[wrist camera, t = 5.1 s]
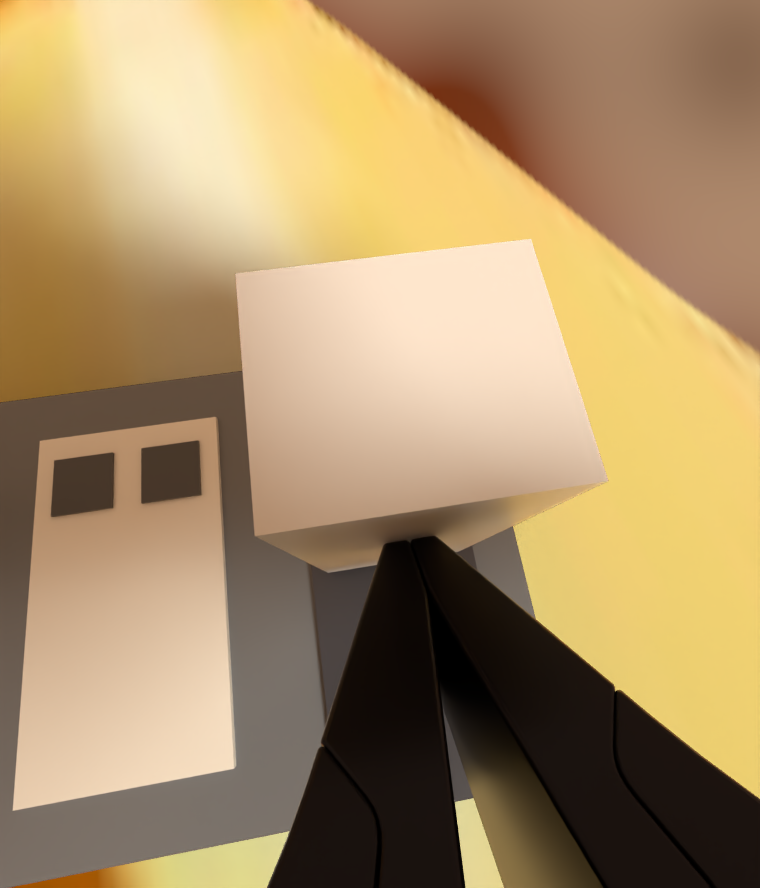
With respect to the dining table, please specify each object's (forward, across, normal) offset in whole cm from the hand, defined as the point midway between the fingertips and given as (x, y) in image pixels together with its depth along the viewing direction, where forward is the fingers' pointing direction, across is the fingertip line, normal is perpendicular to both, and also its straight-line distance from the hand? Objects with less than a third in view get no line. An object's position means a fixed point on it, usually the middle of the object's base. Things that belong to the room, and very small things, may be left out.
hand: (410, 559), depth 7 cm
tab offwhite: (+5, 0, +2) cm, 5 cm away
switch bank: (+6, +7, +5) cm, 10 cm away
